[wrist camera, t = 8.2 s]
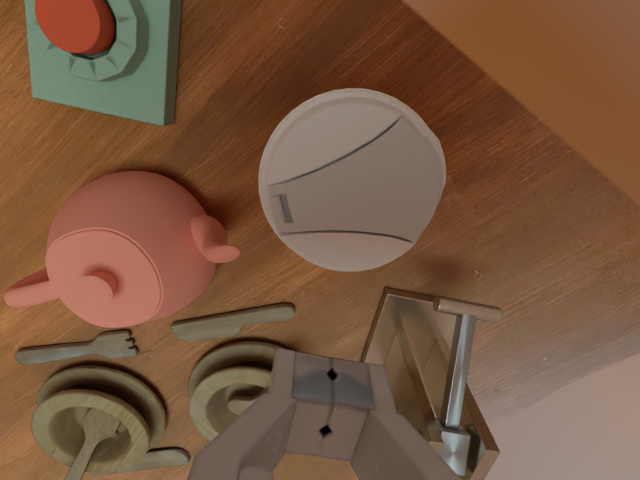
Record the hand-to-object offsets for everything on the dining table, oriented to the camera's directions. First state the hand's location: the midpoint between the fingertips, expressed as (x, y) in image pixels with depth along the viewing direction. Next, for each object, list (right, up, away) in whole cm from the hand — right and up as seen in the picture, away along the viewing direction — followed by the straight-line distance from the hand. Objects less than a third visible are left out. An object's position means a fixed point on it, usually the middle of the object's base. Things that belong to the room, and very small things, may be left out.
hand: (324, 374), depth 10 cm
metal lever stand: (+9, -7, +27) cm, 29 cm away
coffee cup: (+1, +12, +19) cm, 22 cm away
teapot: (-14, +4, +22) cm, 27 cm away
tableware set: (-15, -13, +30) cm, 36 cm away
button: (-14, +17, +13) cm, 26 cm away
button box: (-14, +18, +16) cm, 28 cm away
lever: (+10, -7, +19) cm, 22 cm away
